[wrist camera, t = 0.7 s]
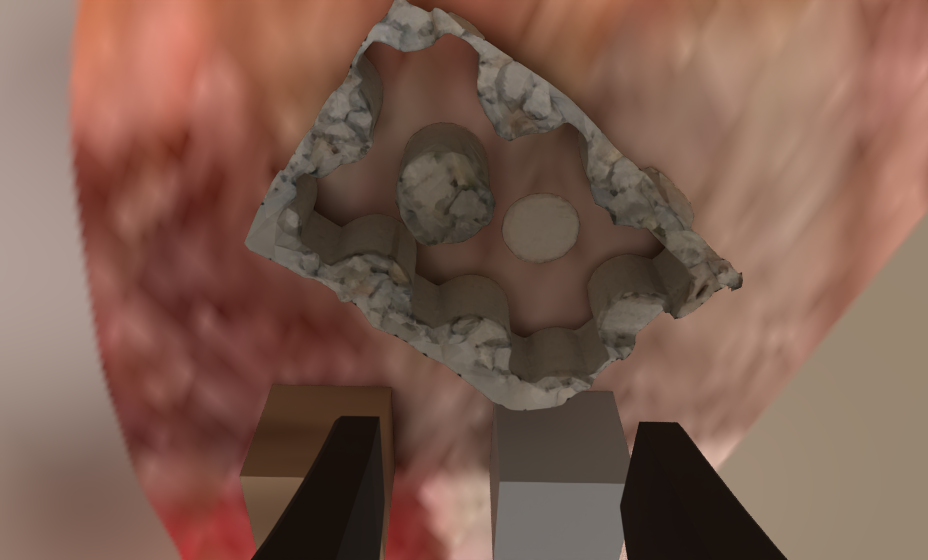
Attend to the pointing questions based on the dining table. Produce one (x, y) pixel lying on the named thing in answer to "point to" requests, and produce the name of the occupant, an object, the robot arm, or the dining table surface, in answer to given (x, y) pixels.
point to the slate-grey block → (558, 480)
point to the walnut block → (306, 446)
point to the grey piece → (467, 211)
